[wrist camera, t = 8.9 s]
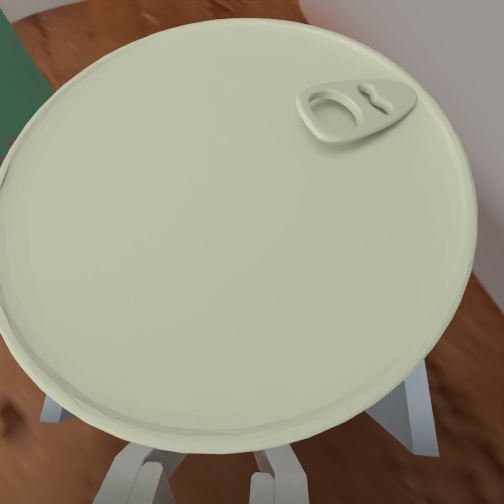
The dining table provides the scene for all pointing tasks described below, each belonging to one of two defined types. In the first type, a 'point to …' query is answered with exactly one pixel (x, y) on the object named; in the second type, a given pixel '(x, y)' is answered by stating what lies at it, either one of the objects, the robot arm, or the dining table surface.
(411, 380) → the holder
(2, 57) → the mug
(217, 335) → the can
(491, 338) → the dining table surface
